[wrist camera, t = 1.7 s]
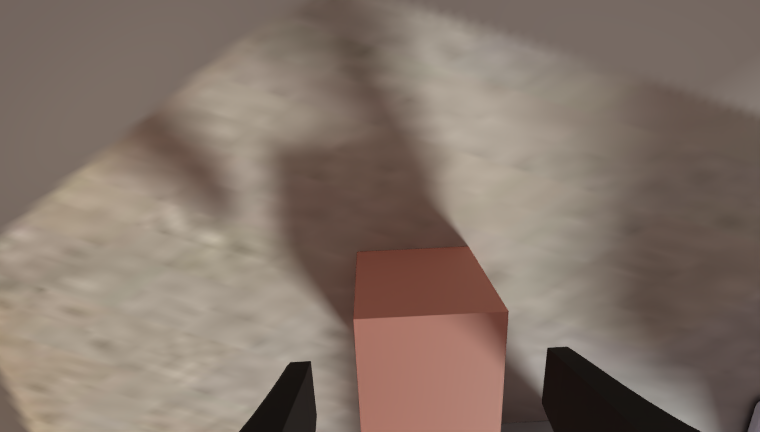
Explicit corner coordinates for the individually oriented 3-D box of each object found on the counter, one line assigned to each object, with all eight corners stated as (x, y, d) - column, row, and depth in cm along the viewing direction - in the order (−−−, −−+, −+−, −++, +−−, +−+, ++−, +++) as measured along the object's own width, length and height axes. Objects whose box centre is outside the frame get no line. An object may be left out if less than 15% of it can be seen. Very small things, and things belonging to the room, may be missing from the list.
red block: (467, 245, 17) (508, 311, 12) (465, 340, 18) (500, 433, 13) (357, 251, 17) (353, 319, 12) (362, 346, 18) (361, 440, 13)
